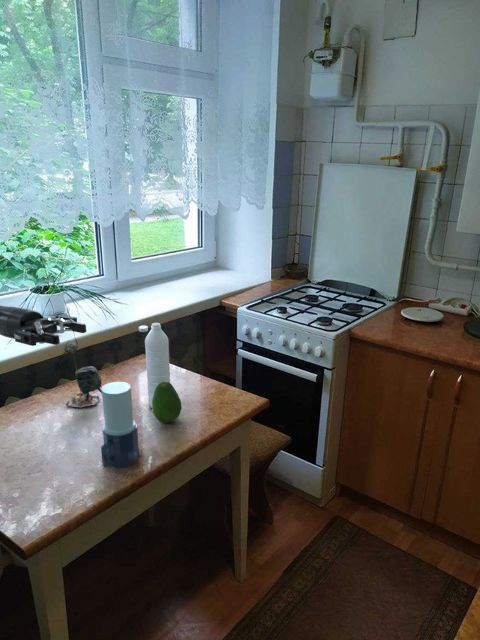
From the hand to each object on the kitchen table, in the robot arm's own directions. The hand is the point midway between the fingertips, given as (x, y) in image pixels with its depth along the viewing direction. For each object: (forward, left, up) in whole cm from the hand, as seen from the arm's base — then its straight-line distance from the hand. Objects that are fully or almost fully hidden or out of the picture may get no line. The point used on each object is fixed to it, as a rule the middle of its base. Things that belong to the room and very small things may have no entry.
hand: (72, 334), depth 112 cm
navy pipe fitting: (-7, -9, -30) cm, 32 cm away
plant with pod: (+24, +3, -30) cm, 39 cm away
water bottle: (+20, -17, -30) cm, 40 cm away
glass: (-6, -9, -22) cm, 24 cm away
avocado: (+10, -20, -30) cm, 38 cm away
